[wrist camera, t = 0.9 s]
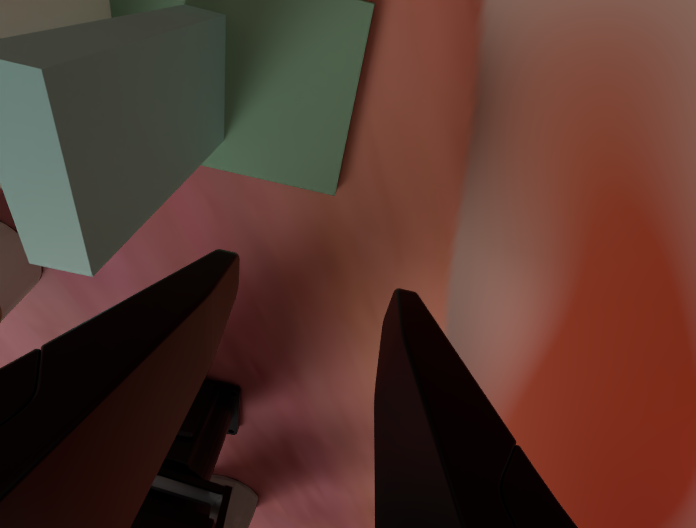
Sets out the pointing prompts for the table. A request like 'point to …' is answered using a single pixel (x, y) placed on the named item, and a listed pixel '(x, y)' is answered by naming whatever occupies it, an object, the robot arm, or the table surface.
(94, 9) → the domino
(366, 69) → the table surface
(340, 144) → the baize strip
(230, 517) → the coffeepot
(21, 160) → the domino
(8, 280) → the coffee cup
